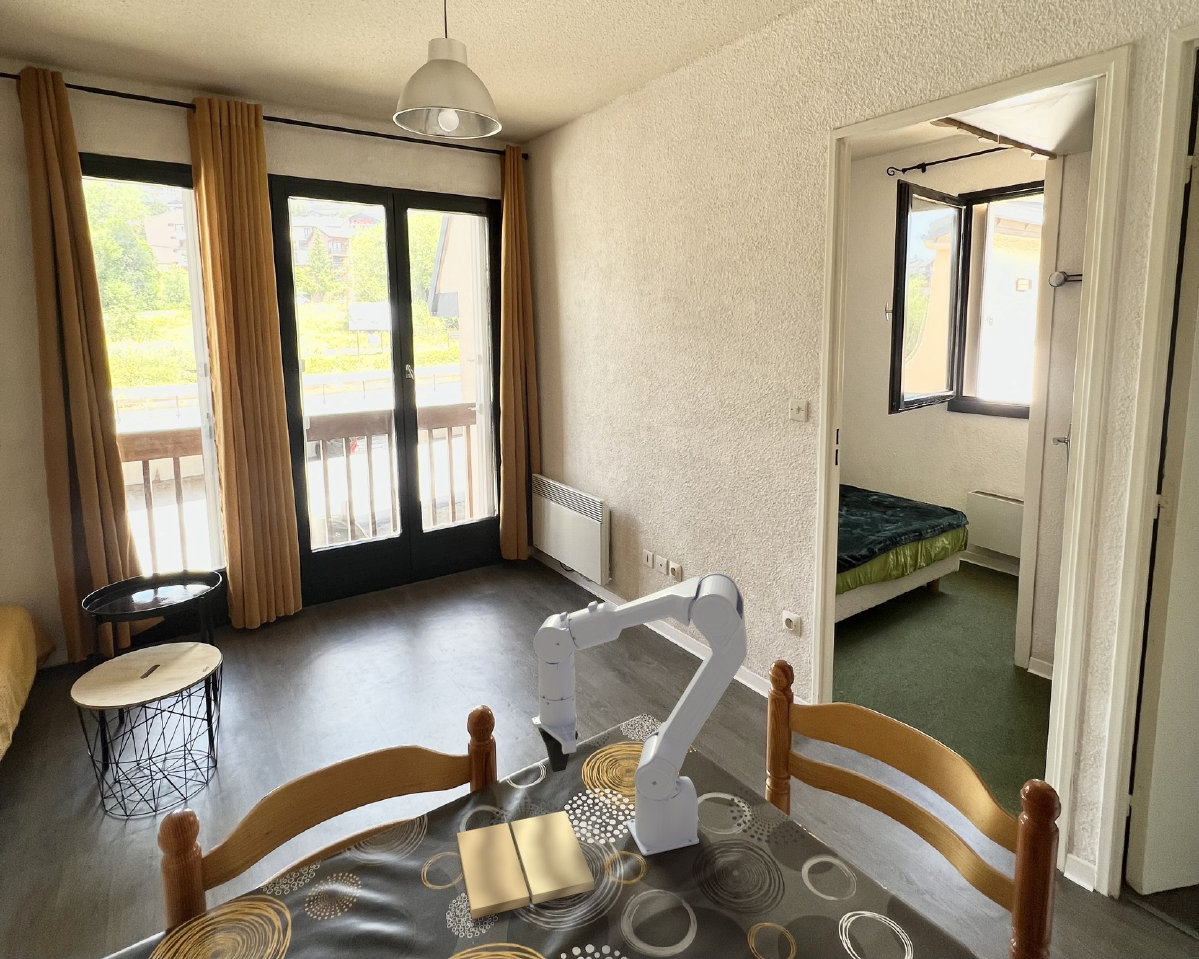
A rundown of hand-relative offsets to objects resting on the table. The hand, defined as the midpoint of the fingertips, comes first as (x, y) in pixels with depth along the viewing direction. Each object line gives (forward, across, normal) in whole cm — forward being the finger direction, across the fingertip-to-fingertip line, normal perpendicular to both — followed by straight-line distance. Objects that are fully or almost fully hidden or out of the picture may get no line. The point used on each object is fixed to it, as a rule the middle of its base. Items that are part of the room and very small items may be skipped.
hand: (558, 768), depth 120 cm
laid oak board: (+9, +8, -12) cm, 18 cm away
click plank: (+9, +8, -4) cm, 13 cm away
